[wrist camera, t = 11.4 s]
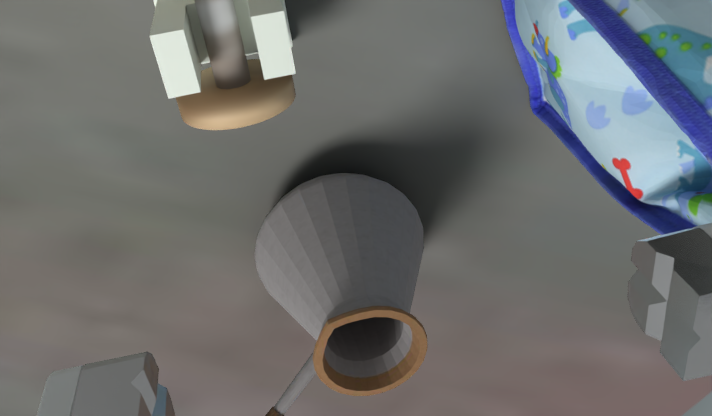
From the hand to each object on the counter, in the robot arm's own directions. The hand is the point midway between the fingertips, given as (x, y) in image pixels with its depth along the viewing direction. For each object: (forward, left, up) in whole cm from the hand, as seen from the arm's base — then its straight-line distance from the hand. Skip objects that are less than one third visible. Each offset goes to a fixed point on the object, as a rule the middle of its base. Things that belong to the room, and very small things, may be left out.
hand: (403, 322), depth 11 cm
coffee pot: (+22, -3, -31) cm, 38 cm away
